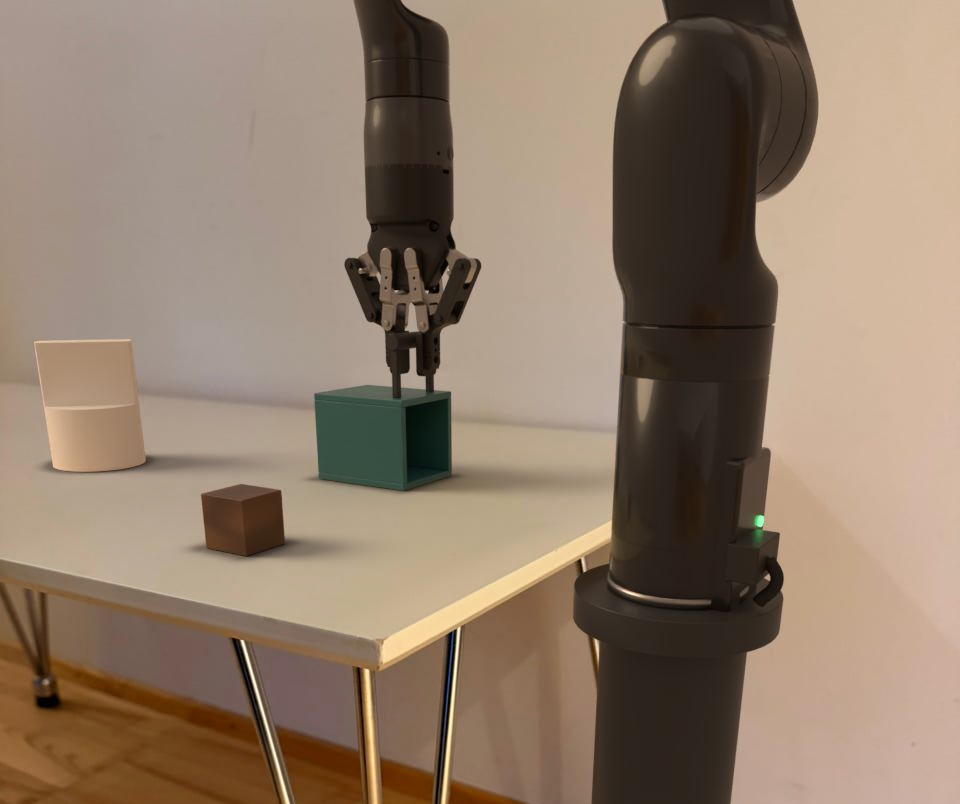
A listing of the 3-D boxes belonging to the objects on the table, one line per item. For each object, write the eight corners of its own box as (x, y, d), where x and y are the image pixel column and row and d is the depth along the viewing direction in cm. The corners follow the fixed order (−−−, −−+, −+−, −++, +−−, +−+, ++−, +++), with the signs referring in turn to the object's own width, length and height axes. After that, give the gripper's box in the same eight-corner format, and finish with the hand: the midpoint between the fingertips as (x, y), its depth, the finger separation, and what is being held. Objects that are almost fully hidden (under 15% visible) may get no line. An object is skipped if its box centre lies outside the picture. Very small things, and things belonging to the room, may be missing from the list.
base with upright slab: (147, 453, 106) (133, 337, 102) (144, 469, 98) (129, 343, 93) (58, 457, 104) (39, 338, 99) (47, 473, 96) (27, 345, 91)
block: (285, 543, 72) (281, 489, 71) (246, 556, 69) (241, 500, 68) (245, 535, 74) (241, 483, 73) (206, 548, 71) (200, 493, 70)
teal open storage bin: (452, 475, 95) (450, 330, 90) (403, 491, 89) (399, 335, 84) (370, 465, 100) (364, 326, 95) (318, 478, 94) (310, 331, 89)
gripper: (316, 163, 83) (327, 373, 90) (453, 155, 77) (455, 383, 83) (370, 170, 89) (377, 367, 96) (502, 163, 83) (500, 375, 89)
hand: (413, 373), depth 89 cm, fingers closed
